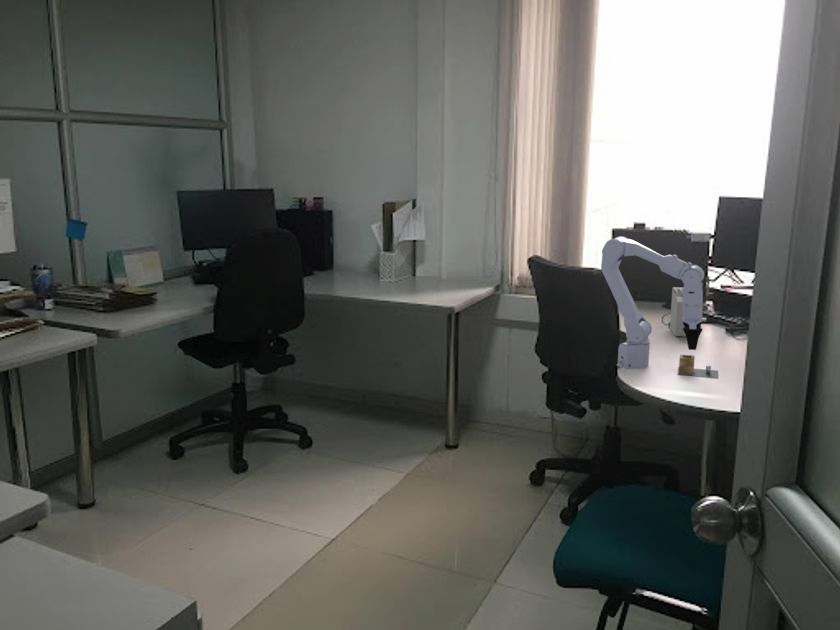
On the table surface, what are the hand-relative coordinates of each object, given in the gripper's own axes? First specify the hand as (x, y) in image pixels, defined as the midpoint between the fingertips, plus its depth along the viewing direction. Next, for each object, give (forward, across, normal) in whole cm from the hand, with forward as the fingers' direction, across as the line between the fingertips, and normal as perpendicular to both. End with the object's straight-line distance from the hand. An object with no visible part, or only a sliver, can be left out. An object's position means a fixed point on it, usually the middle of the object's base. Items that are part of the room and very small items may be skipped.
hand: (692, 346), depth 226 cm
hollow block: (+8, 0, +2) cm, 8 cm away
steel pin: (+10, -1, -5) cm, 11 cm away
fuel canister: (+9, +55, +3) cm, 56 cm away
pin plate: (+9, -1, -2) cm, 10 cm away
